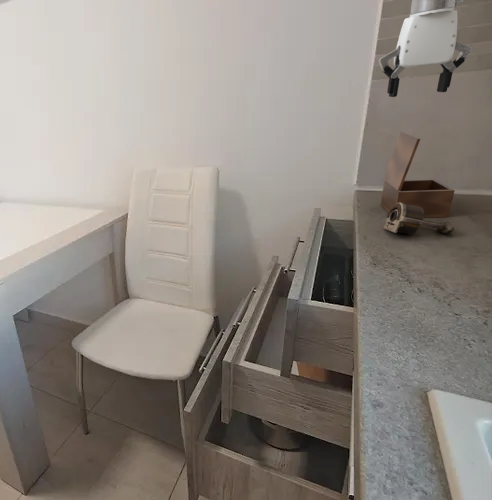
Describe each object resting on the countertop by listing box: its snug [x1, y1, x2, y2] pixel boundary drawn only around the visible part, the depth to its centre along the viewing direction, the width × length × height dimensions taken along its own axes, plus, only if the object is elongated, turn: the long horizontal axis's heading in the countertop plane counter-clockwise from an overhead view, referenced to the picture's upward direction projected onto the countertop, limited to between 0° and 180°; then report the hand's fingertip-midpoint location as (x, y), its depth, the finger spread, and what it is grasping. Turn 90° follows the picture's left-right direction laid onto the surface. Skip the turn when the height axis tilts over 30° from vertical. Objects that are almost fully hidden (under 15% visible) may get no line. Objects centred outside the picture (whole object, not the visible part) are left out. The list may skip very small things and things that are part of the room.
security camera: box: [383, 202, 456, 235], centre depth 81 cm, size 7×13×10 cm
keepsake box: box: [379, 178, 455, 219], centre depth 93 cm, size 11×10×7 cm
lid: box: [383, 132, 421, 191], centre depth 90 cm, size 12×10×1 cm
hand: (416, 94), depth 84 cm, fingers open, 9 cm apart
